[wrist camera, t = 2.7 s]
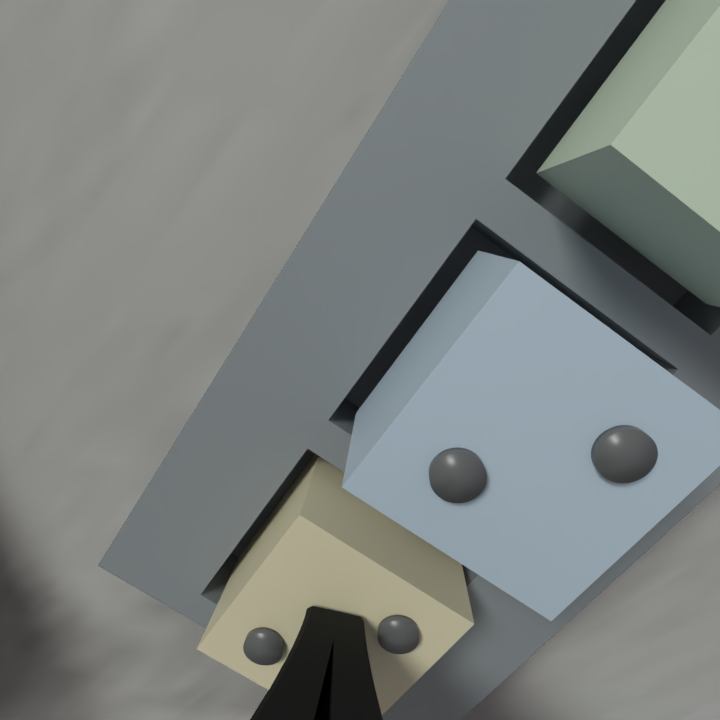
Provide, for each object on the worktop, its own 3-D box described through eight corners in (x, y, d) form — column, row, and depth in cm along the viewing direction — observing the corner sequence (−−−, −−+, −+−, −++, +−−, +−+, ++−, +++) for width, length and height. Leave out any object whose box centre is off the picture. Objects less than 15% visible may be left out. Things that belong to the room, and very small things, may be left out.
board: (949, 156, 11) (1101, 136, 9) (419, 680, 17) (423, 753, 15) (577, -174, 10) (636, -301, 8) (142, 514, 16) (97, 566, 13)
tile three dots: (454, 530, 14) (475, 631, 11) (364, 629, 16) (356, 748, 12) (322, 444, 14) (297, 520, 10) (240, 554, 15) (193, 656, 11)
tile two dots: (641, 371, 11) (762, 440, 7) (507, 513, 12) (554, 629, 9) (478, 250, 10) (522, 261, 7) (355, 413, 12) (340, 493, 8)
